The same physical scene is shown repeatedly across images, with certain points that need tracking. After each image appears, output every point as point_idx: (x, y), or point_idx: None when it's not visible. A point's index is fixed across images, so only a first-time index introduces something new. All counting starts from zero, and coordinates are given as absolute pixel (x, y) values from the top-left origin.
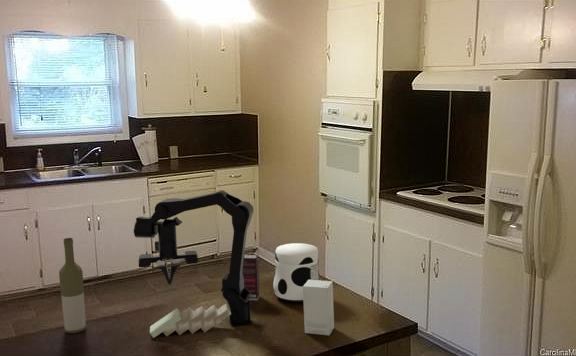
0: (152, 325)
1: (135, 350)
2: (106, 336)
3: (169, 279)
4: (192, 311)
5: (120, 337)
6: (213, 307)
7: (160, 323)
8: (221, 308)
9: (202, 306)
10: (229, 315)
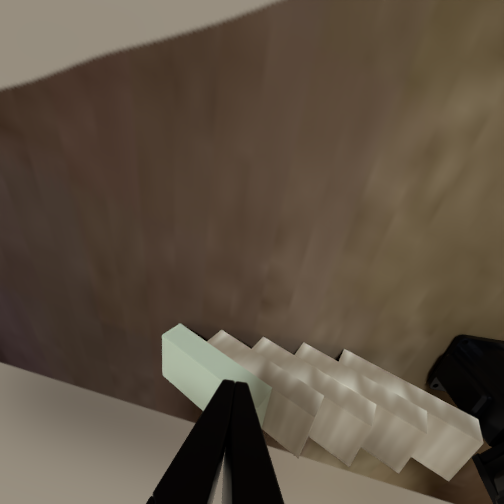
0: (168, 345)
1: (134, 400)
2: (28, 301)
3: (226, 440)
4: (320, 404)
5: (77, 324)
6: (409, 447)
7: (191, 386)
8: (440, 435)
9: (371, 426)
10: (451, 397)
